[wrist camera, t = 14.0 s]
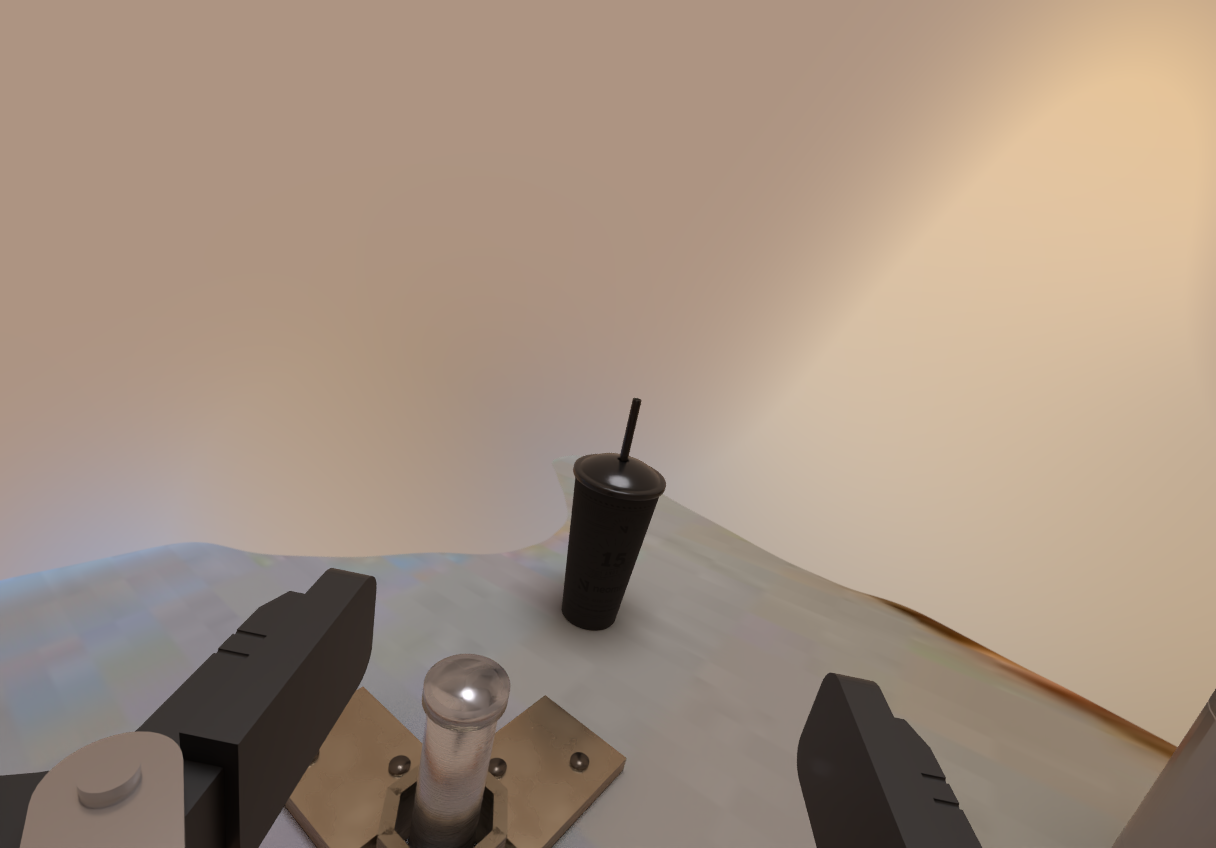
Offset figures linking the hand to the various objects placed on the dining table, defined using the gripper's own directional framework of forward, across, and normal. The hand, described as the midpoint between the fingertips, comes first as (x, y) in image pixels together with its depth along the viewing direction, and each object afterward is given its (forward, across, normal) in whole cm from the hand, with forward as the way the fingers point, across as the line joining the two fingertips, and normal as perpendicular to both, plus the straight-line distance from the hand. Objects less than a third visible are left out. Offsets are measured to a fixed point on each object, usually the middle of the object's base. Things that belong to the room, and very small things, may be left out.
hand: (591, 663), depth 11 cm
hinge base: (+18, +6, +26) cm, 32 cm away
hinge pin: (+12, +4, +26) cm, 29 cm away
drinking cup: (+36, -1, +26) cm, 45 cm away
